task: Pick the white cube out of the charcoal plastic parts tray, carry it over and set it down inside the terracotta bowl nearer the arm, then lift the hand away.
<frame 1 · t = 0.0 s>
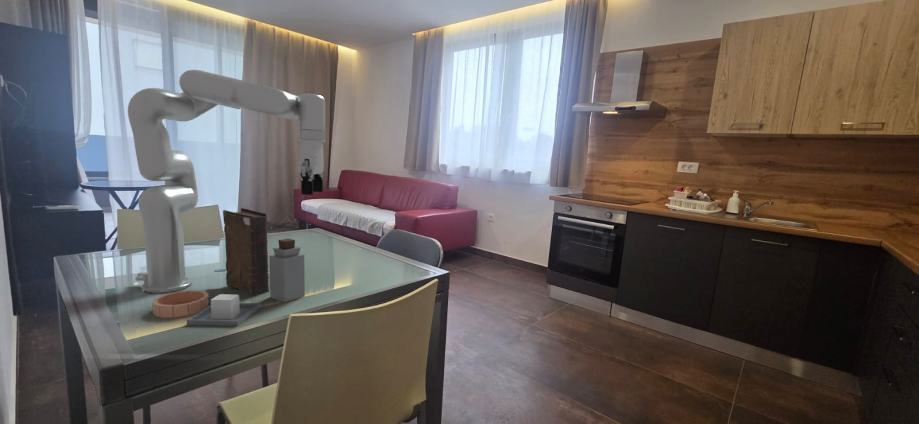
hand: (312, 193, 122), 31 cm above the table, tool pointing down, fingers open, 9 cm apart
perfume bottle: (287, 299, 118), on the table
parts tray: (226, 318, 102), on the table
book: (247, 290, 124), on the table
terracotta bowl: (182, 311, 106), on the table
white cube: (225, 315, 102), point 1 cm above the table, touching parts tray
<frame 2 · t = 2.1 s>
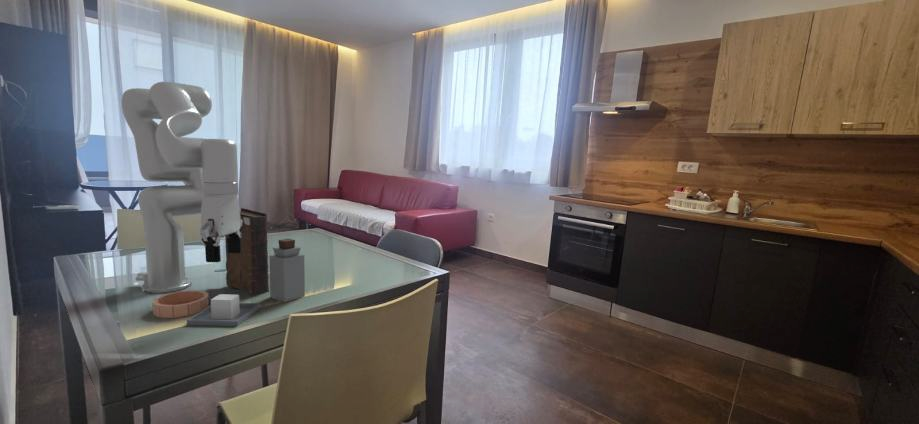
hand: (224, 257, 100), 16 cm above the table, tool pointing down, fingers open, 9 cm apart
nothing on the table moved.
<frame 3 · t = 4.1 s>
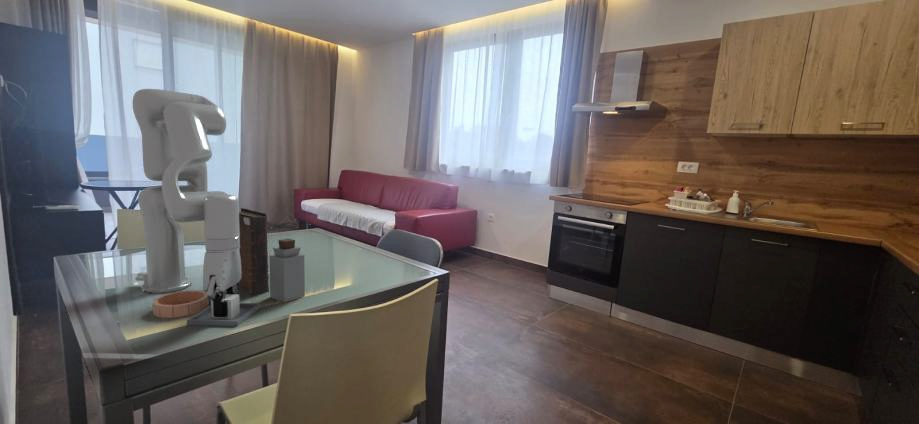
hand: (225, 312, 102), 2 cm above the table, tool pointing down, fingers closed on white cube, 3 cm apart
white cube: (225, 315, 102), point 1 cm above the table, touching gripper, parts tray
everything else where it was.
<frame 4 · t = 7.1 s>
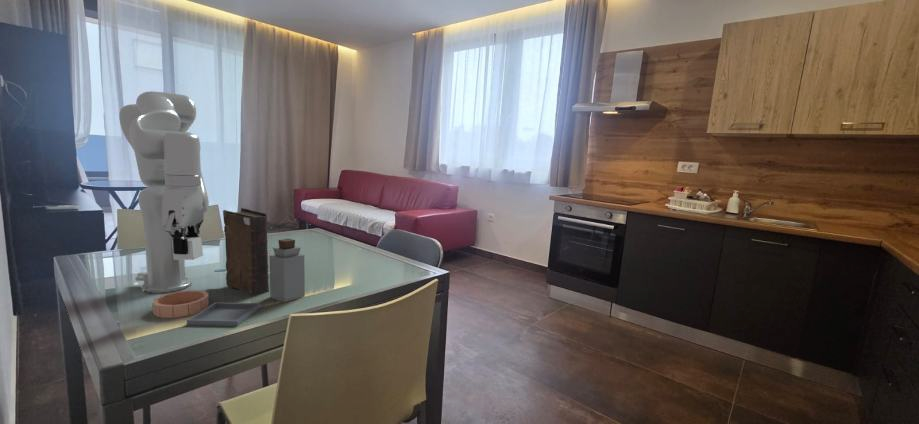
hand: (186, 250, 103), 17 cm above the table, tool pointing down, fingers closed on white cube, 4 cm apart
white cube: (188, 257, 103), point 15 cm above the table, touching gripper
everything else where it was.
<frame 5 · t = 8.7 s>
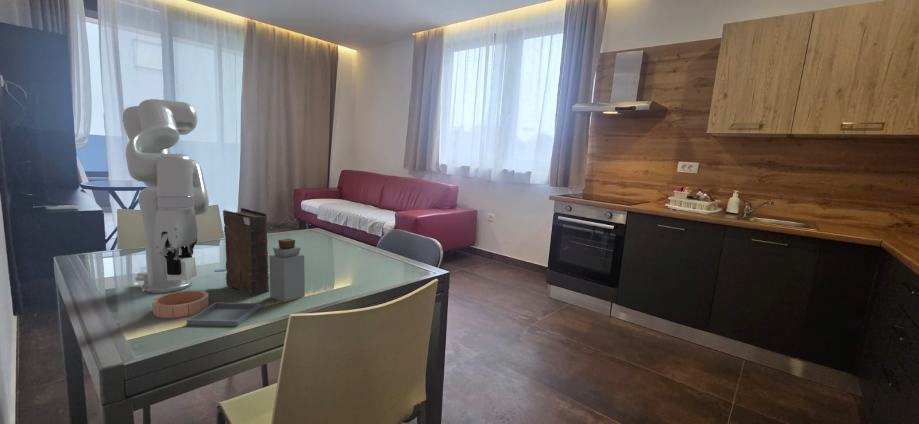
hand: (180, 271, 104), 11 cm above the table, tool pointing down, fingers closed on white cube, 4 cm apart
white cube: (182, 277, 104), point 9 cm above the table, touching gripper
everything else where it was.
when the fingers open (4 cm above the table, at t = 10.3 s): white cube drops 1 cm, resting on terracotta bowl.
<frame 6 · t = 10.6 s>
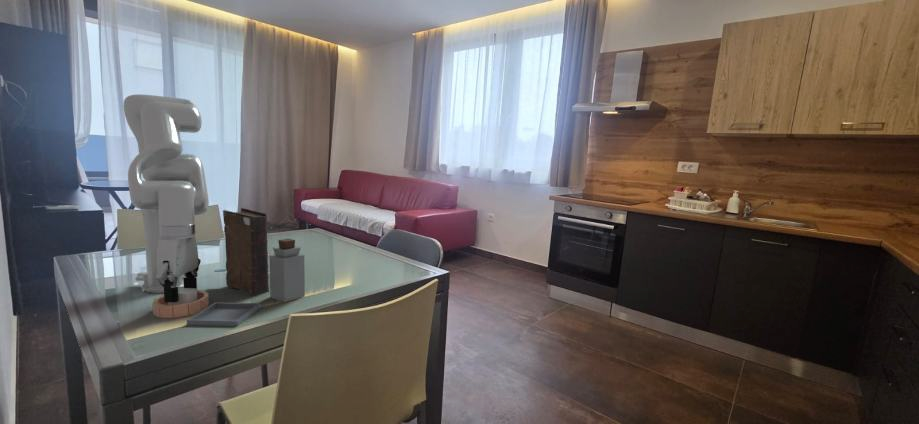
hand: (181, 296, 105), 4 cm above the table, tool pointing down, fingers open, 7 cm apart
white cube: (183, 308, 105), point 1 cm above the table, touching terracotta bowl
everything else where it was.
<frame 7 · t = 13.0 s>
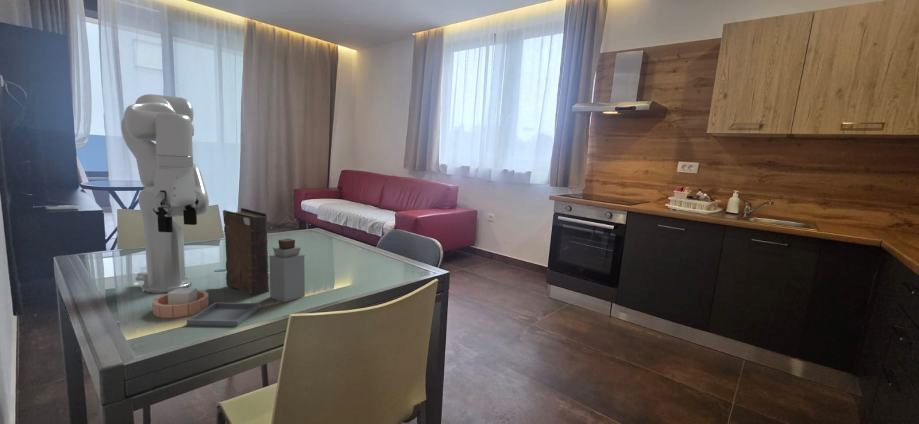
hand: (178, 228, 104), 22 cm above the table, tool pointing down, fingers open, 9 cm apart
nothing on the table moved.
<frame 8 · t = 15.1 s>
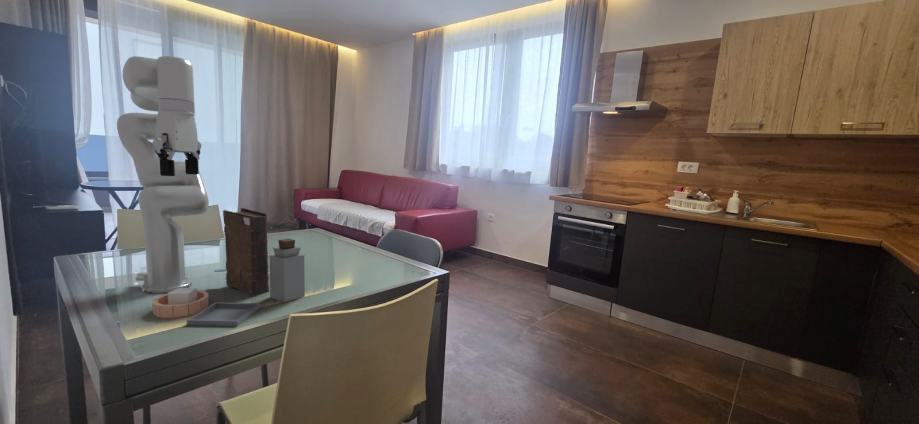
hand: (180, 175, 104), 36 cm above the table, tool pointing down, fingers open, 9 cm apart
nothing on the table moved.
at the end: white cube inside the target area on the terracotta bowl (0.4 cm from its centre), point 0.8 cm above the terracotta bowl's base; the gripper is holding nothing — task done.
